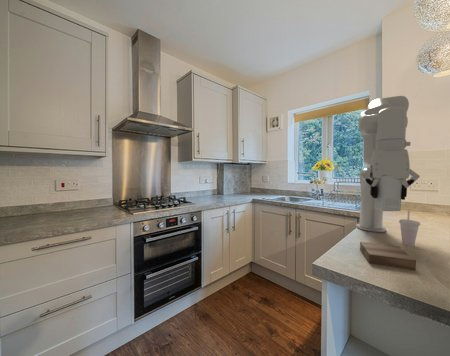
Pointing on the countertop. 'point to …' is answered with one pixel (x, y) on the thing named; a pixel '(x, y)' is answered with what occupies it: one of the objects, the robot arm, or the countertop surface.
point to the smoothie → (409, 230)
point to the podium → (387, 255)
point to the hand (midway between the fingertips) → (387, 198)
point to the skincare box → (388, 194)
